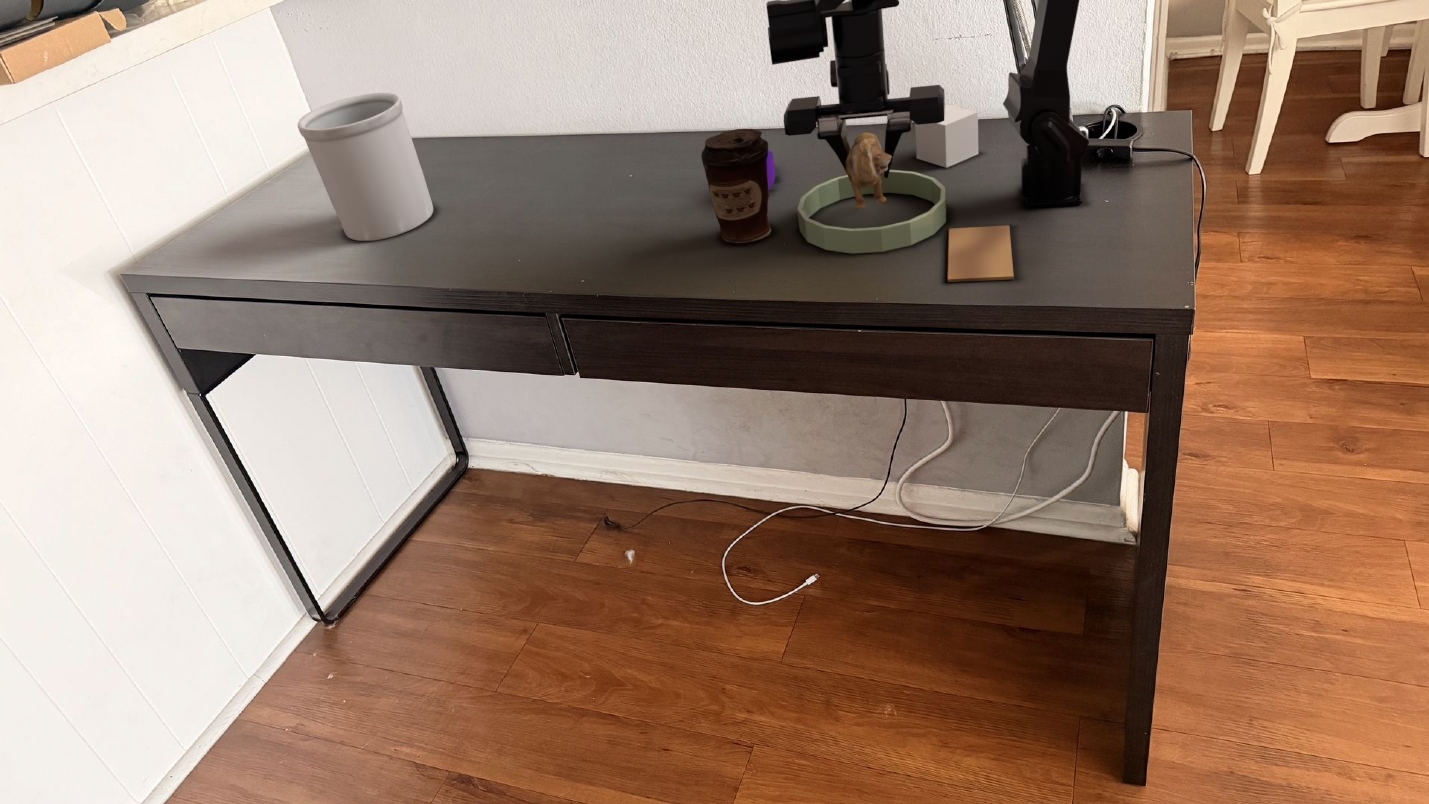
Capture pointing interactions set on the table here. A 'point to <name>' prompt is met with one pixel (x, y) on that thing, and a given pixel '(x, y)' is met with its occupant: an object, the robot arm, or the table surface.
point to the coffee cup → (738, 183)
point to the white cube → (948, 137)
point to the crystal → (770, 169)
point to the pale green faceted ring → (877, 236)
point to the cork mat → (980, 254)
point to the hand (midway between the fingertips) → (869, 178)
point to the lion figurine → (866, 167)
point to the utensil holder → (368, 165)
